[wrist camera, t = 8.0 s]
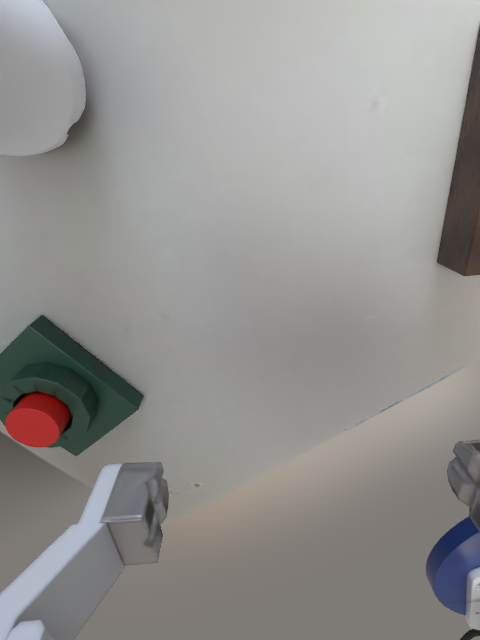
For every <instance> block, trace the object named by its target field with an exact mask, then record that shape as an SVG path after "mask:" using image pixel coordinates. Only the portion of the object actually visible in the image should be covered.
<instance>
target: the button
mask: <svg viewBox="0 0 480 640" xmlns="http://www.w3.org/2000/svg"><path fill="white" fill-rule="evenodd" d="M70 416H71V414H70V410H69V408H68V406H67V405H66V404H65V403H64V402H63V401H61V400H60V399H58V398H57V397H55V396H54V395H51V394H47V393H43V392H34V393H30V394H28V395H26V396H25V397H23V399H22V400H21V401H20V402H19V403H18V404H17V405H16V406H15V407H14V409H13V410H12V411H11V412H10V413H9V414H8V415H7V417H6V420H5V426H6V429H7V431H8V433H9V434H10V435H11V436H12V437H13V438H14V439H15V440H17V441H18V442H20V443H22V444H25V445H27V446H31V447H46V446H49V445H52V444H53V443H55V442H56V441H57V440H58V438H59V437H60V435H61V433H62V432H63V430H64V429H65V427H66V426H67V424H68V422H69V420H70Z"/></svg>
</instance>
